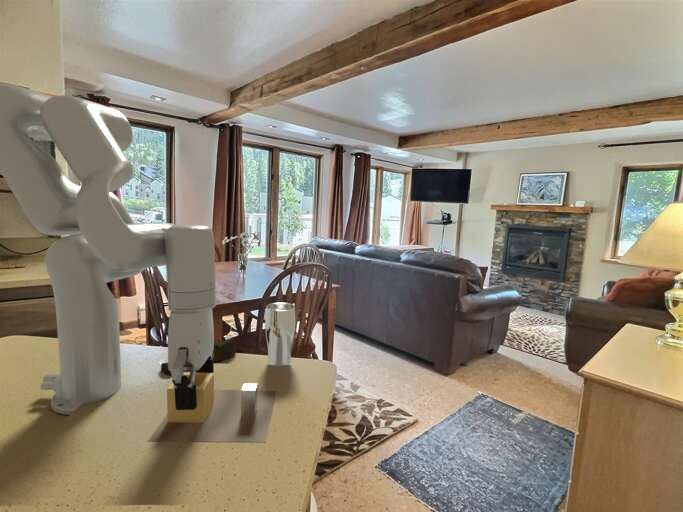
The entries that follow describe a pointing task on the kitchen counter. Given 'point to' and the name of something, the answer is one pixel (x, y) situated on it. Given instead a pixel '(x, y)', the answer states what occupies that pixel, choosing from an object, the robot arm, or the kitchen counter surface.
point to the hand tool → (220, 354)
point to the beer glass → (279, 333)
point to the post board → (225, 419)
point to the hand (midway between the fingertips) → (196, 393)
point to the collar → (204, 400)
